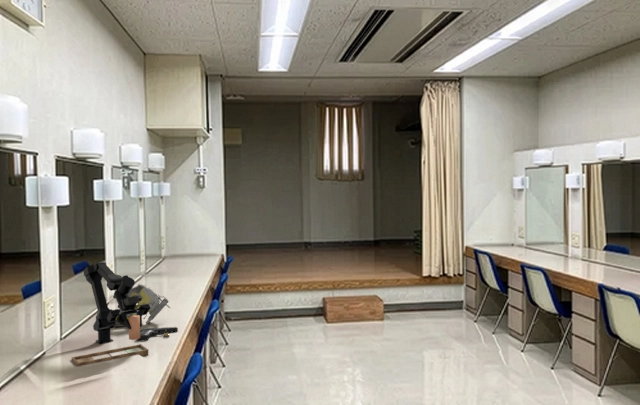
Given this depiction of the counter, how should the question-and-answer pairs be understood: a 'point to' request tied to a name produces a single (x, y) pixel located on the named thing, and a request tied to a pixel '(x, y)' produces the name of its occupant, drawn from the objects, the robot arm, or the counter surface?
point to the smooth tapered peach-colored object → (134, 327)
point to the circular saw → (147, 302)
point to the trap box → (130, 351)
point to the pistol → (155, 332)
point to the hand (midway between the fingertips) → (135, 327)
